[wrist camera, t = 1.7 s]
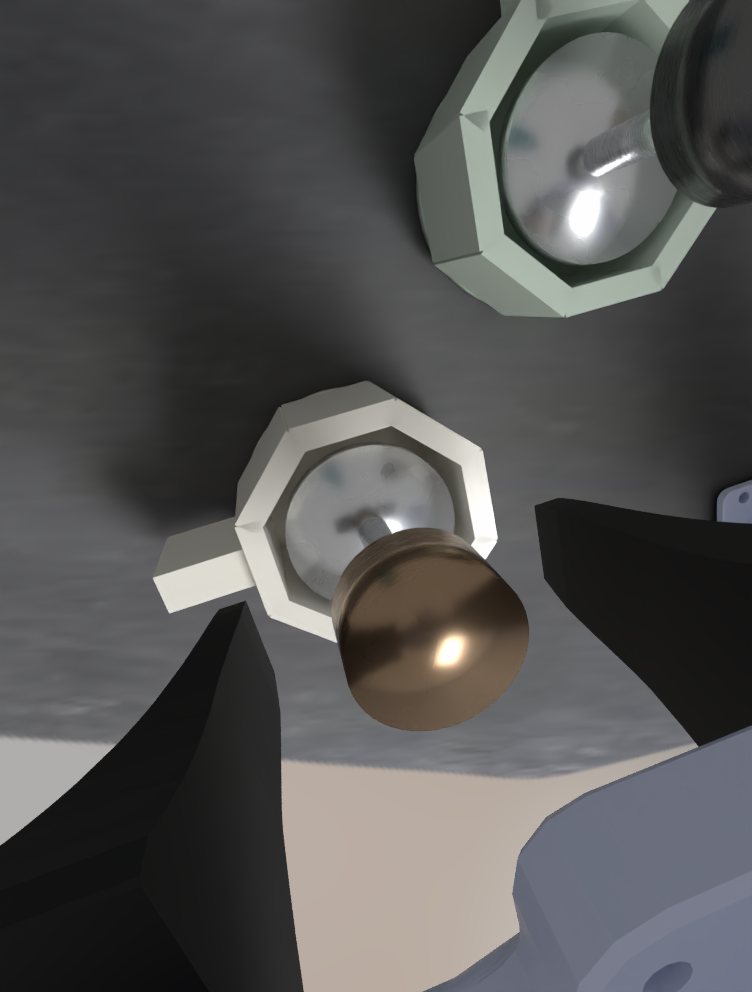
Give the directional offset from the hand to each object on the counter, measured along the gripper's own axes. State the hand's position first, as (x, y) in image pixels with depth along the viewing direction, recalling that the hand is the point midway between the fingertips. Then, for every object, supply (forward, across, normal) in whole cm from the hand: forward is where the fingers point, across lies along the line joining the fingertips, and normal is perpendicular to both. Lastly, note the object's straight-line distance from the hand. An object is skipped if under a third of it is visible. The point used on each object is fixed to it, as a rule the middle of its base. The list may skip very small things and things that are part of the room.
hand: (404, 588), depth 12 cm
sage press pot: (+7, -8, -9) cm, 14 cm away
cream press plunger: (+4, 0, 0) cm, 4 cm away
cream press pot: (+7, +1, 0) cm, 8 cm away
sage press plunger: (+4, -8, -8) cm, 12 cm away
